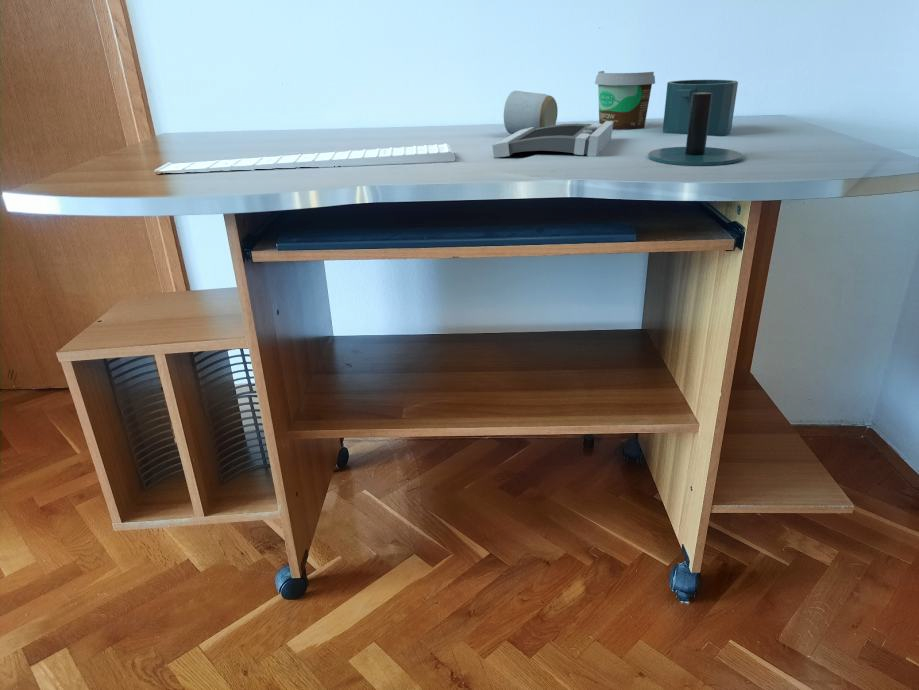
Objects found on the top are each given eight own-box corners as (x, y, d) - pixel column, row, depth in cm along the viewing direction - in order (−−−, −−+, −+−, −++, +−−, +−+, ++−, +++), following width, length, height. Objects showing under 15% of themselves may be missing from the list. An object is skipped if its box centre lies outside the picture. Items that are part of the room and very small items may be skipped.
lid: (753, 158, 91) (764, 90, 88) (724, 173, 83) (735, 98, 79) (668, 151, 99) (675, 88, 95) (633, 165, 90) (638, 96, 86)
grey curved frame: (598, 136, 93) (490, 126, 97) (593, 168, 95) (488, 157, 99) (613, 121, 107) (519, 113, 112) (609, 150, 109) (517, 140, 114)
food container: (579, 127, 127) (582, 72, 123) (598, 123, 131) (601, 70, 127) (632, 132, 119) (637, 73, 115) (651, 128, 123) (656, 71, 118)
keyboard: (153, 176, 95) (150, 165, 94) (170, 166, 102) (168, 156, 101) (455, 161, 97) (454, 150, 97) (451, 152, 105) (451, 142, 104)
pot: (743, 128, 118) (751, 78, 115) (711, 141, 107) (719, 86, 103) (682, 125, 125) (687, 78, 121) (645, 136, 113) (650, 85, 110)
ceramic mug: (542, 138, 115) (544, 92, 112) (502, 136, 119) (502, 92, 116) (565, 131, 123) (567, 88, 120) (526, 130, 127) (527, 88, 124)
